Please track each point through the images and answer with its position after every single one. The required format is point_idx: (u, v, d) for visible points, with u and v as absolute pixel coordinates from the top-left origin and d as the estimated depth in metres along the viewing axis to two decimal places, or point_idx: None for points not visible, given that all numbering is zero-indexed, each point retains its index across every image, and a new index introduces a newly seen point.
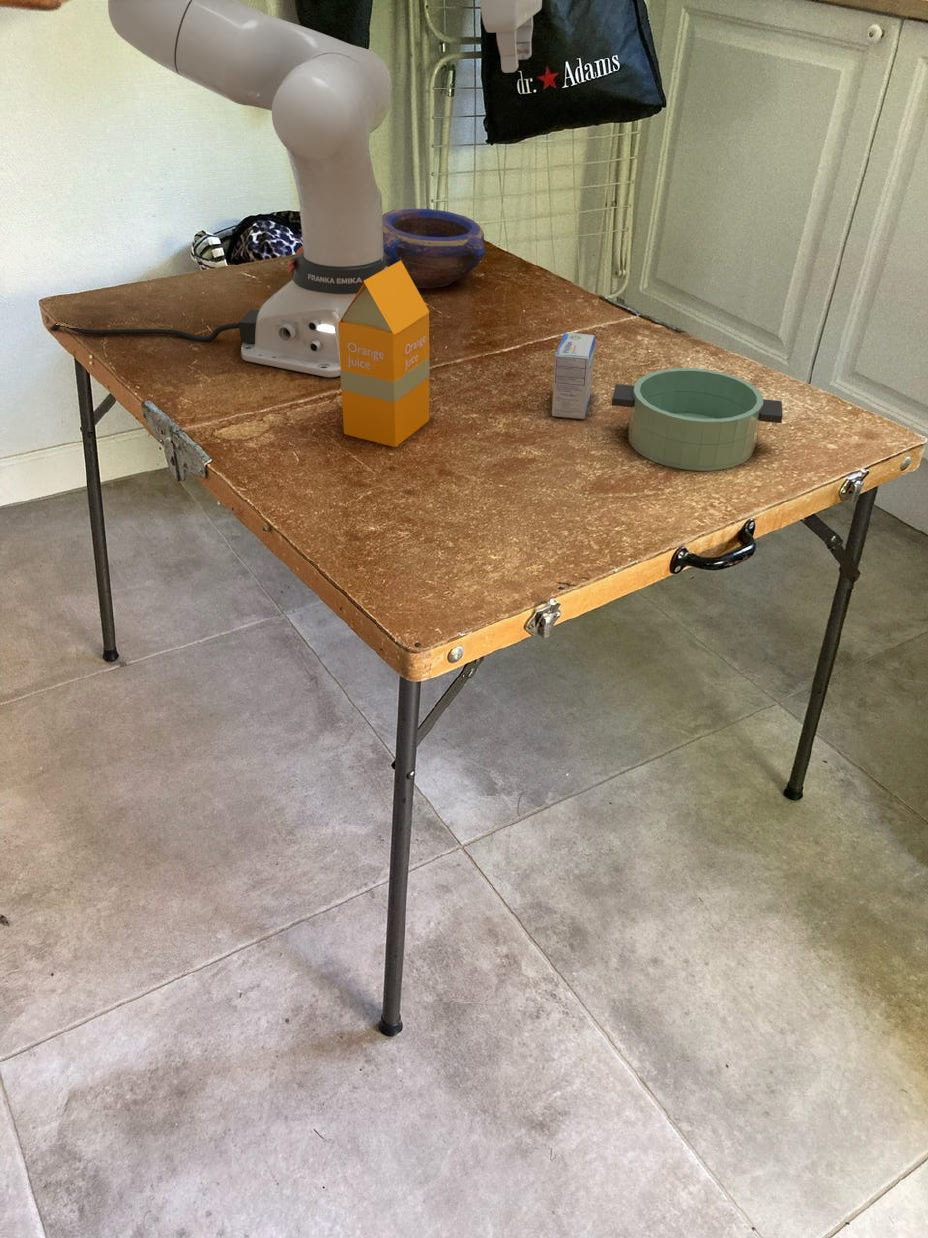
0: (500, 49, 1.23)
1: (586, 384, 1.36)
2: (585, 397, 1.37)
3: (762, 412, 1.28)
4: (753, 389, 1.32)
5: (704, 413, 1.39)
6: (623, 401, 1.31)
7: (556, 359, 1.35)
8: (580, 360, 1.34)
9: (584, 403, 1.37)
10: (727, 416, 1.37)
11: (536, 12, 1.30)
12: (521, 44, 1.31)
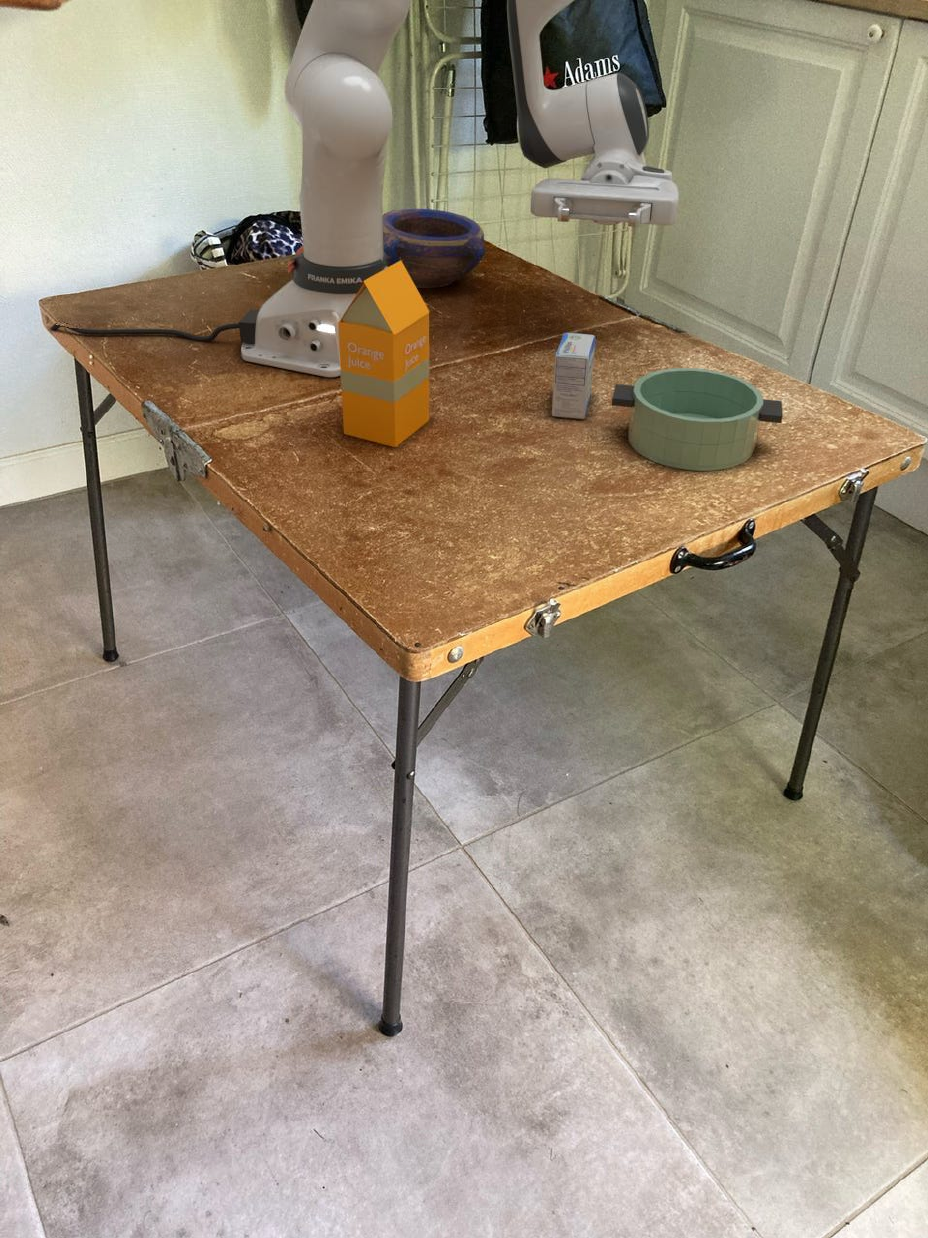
0: (645, 209, 1.42)
1: (586, 384, 1.36)
2: (585, 397, 1.37)
3: (762, 412, 1.28)
4: (753, 389, 1.32)
5: (704, 413, 1.39)
6: (623, 401, 1.31)
7: (556, 359, 1.35)
8: (580, 360, 1.34)
9: (584, 403, 1.37)
10: (727, 416, 1.37)
11: None
12: (569, 211, 1.44)
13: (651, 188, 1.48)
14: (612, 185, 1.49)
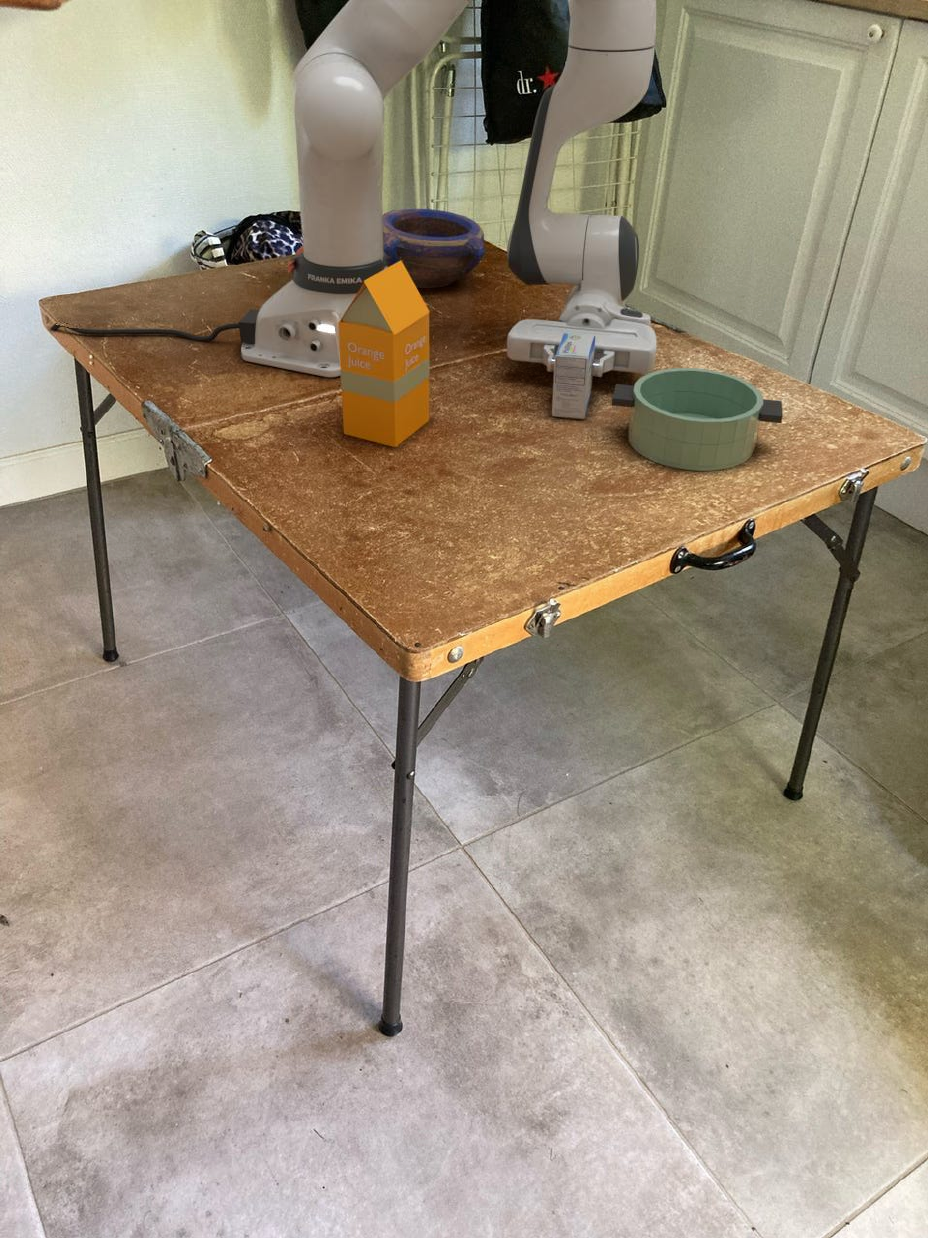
0: (608, 359, 1.40)
1: (586, 384, 1.36)
2: (585, 397, 1.37)
3: (762, 412, 1.28)
4: (753, 389, 1.32)
5: (704, 413, 1.39)
6: (623, 401, 1.31)
7: (556, 359, 1.35)
8: (580, 360, 1.34)
9: (584, 403, 1.37)
10: (727, 416, 1.37)
11: (539, 362, 1.45)
12: None
13: (629, 333, 1.46)
14: (589, 329, 1.46)
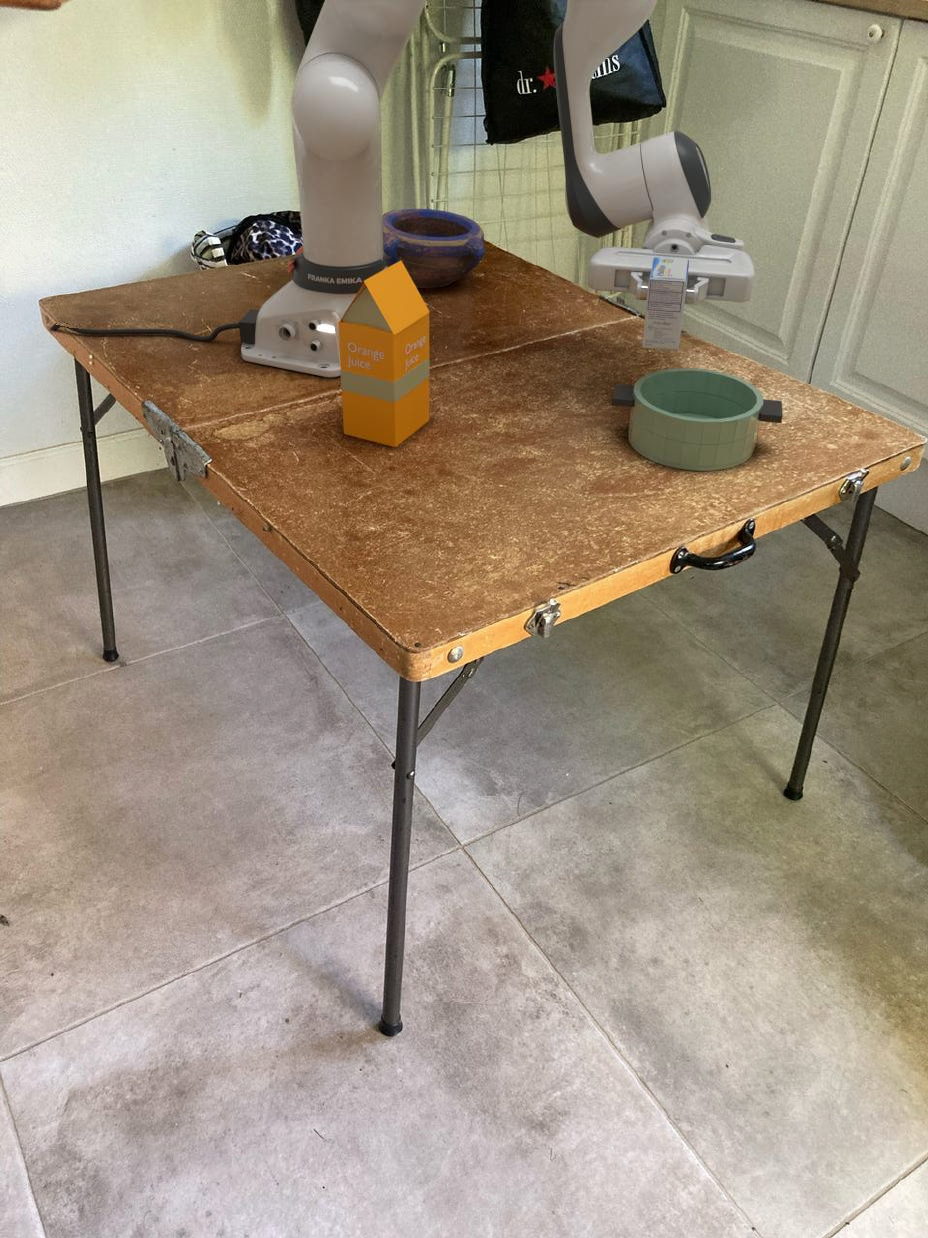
0: (703, 285, 1.28)
1: (682, 311, 1.24)
2: (680, 325, 1.25)
3: (762, 412, 1.28)
4: (753, 389, 1.32)
5: (704, 413, 1.39)
6: (623, 401, 1.31)
7: (650, 283, 1.22)
8: (677, 283, 1.22)
9: (679, 332, 1.25)
10: (727, 416, 1.37)
11: (624, 292, 1.33)
12: None
13: (722, 260, 1.33)
14: (678, 256, 1.34)
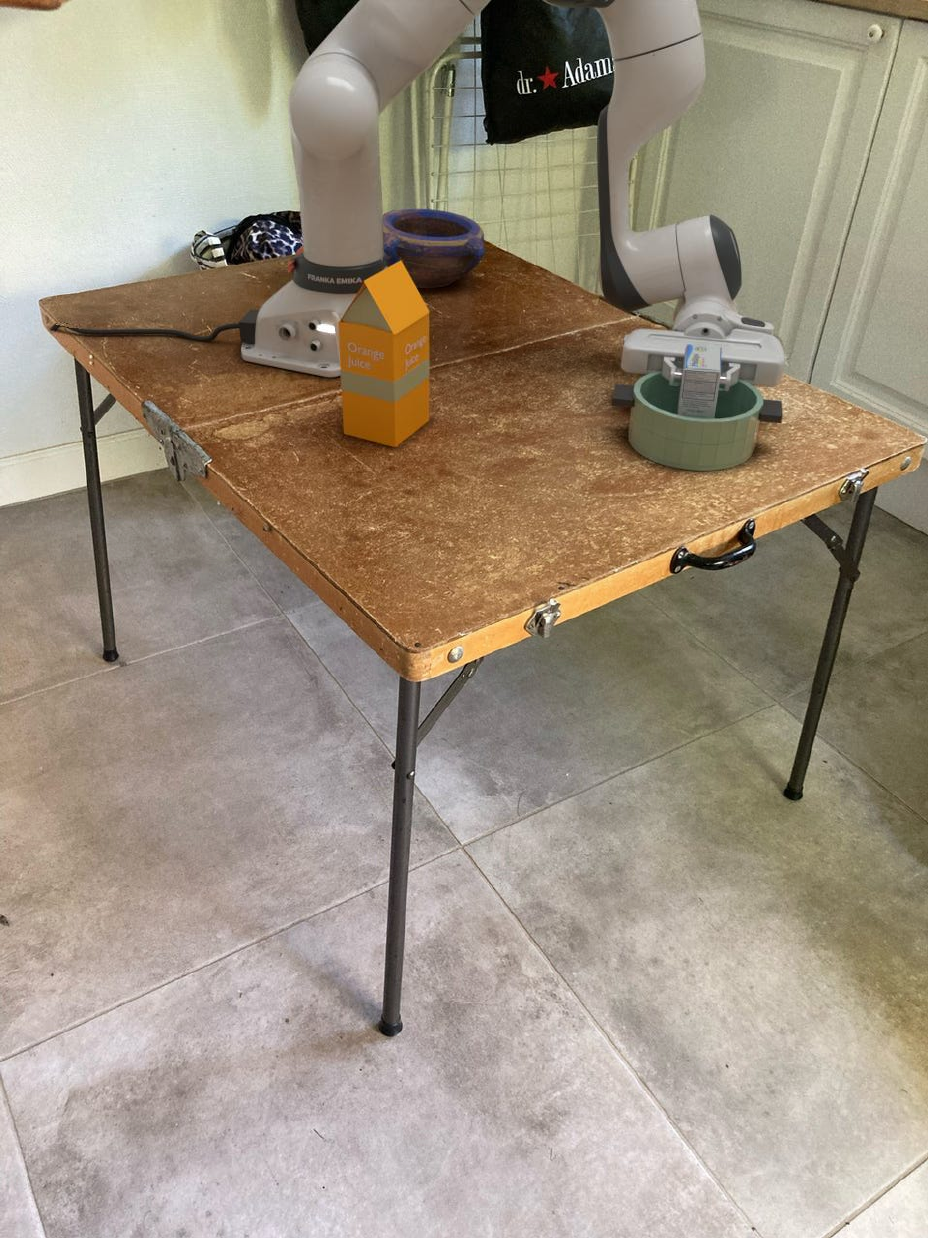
0: (735, 372, 1.31)
1: (715, 399, 1.27)
2: (713, 413, 1.28)
3: (762, 412, 1.28)
4: (753, 389, 1.32)
5: None
6: (623, 401, 1.31)
7: (685, 373, 1.25)
8: (711, 374, 1.25)
9: None
10: (727, 416, 1.37)
11: None
12: None
13: (752, 344, 1.36)
14: (709, 339, 1.37)
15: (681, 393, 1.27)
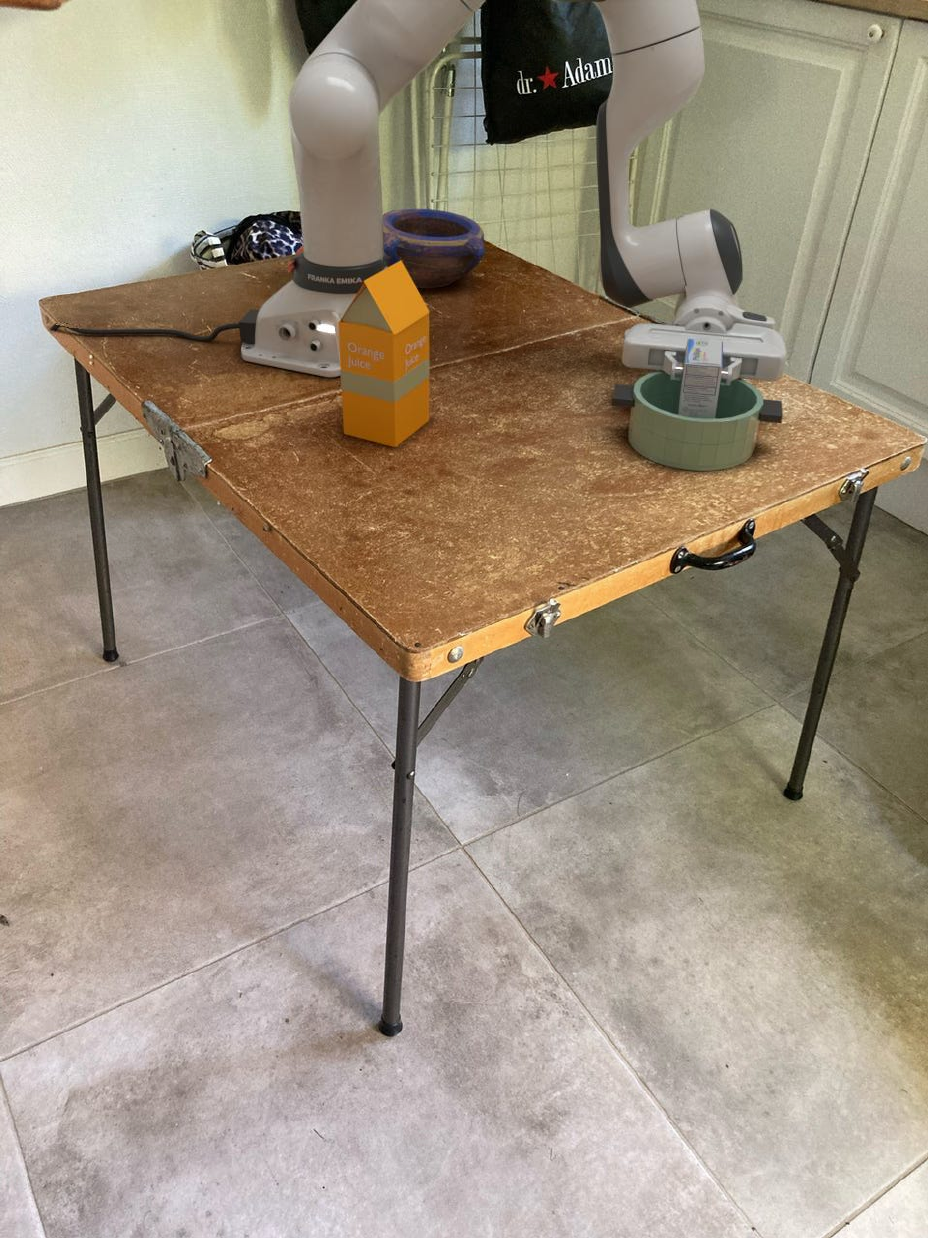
0: (736, 366, 1.31)
1: (717, 394, 1.26)
2: (715, 408, 1.27)
3: (762, 412, 1.28)
4: (753, 389, 1.32)
5: None
6: (623, 401, 1.31)
7: (686, 367, 1.25)
8: (712, 368, 1.24)
9: (713, 414, 1.28)
10: (727, 416, 1.37)
11: None
12: None
13: (753, 338, 1.36)
14: (710, 334, 1.37)
15: (682, 387, 1.27)
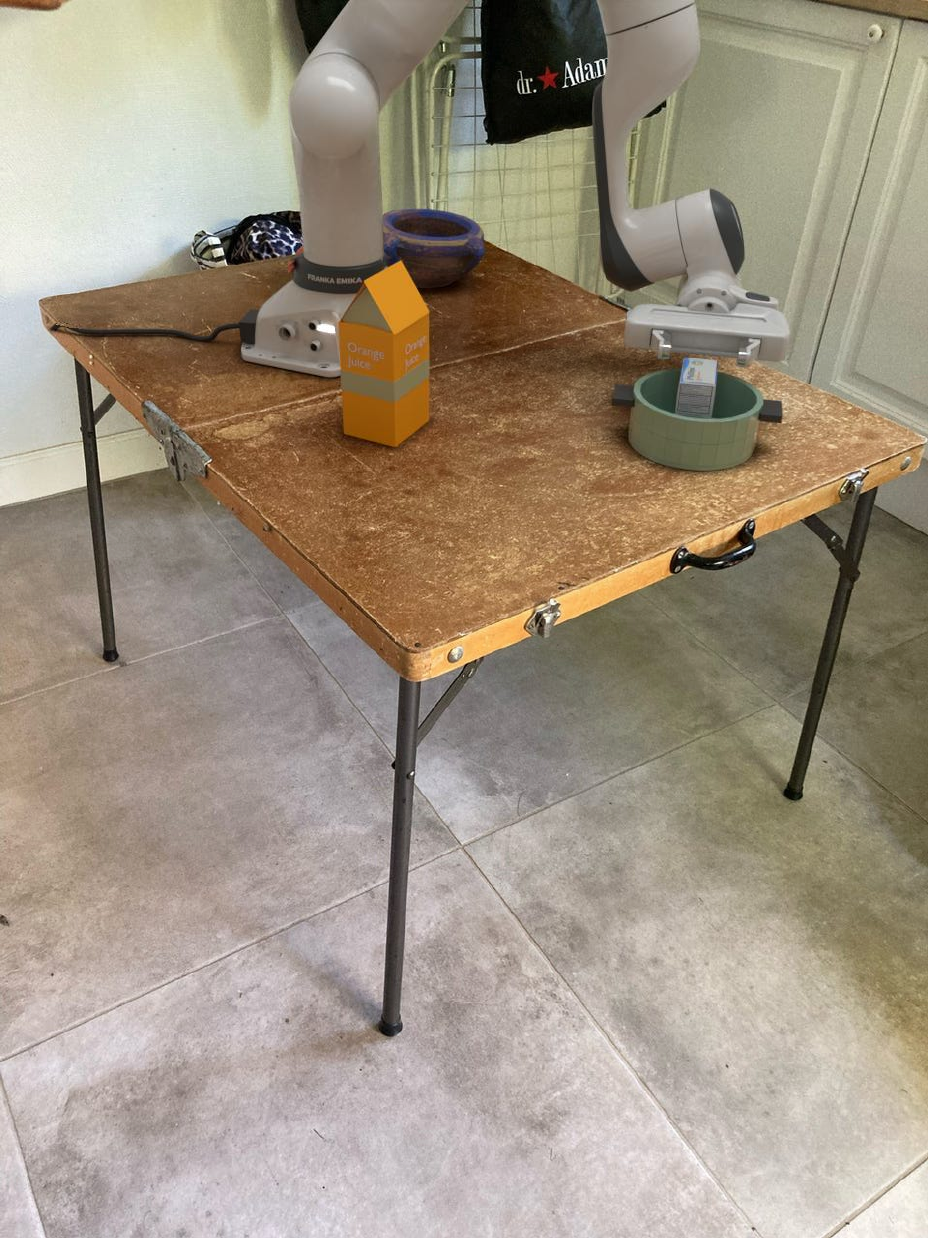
0: (755, 347, 1.29)
1: (710, 413, 1.28)
2: None
3: (762, 412, 1.28)
4: (753, 389, 1.32)
5: None
6: (623, 401, 1.31)
7: (680, 386, 1.27)
8: (706, 387, 1.26)
9: None
10: (727, 416, 1.37)
11: None
12: None
13: (757, 318, 1.34)
14: (713, 314, 1.35)
15: (676, 406, 1.29)
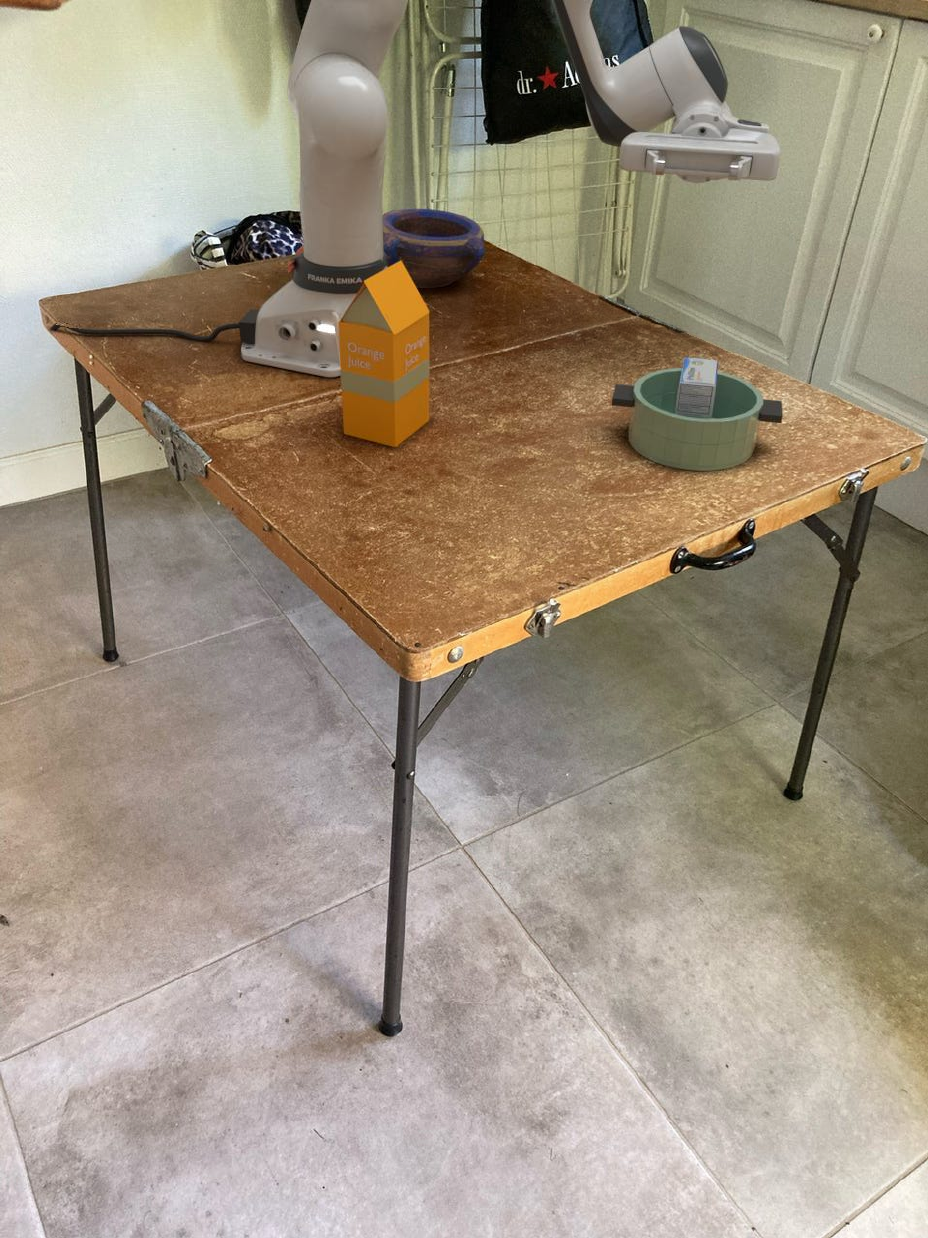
0: (747, 162, 1.33)
1: (710, 413, 1.28)
2: None
3: (762, 412, 1.28)
4: (753, 389, 1.32)
5: None
6: (623, 401, 1.31)
7: (680, 386, 1.27)
8: (706, 387, 1.26)
9: None
10: (727, 416, 1.37)
11: None
12: None
13: (748, 142, 1.38)
14: (706, 138, 1.39)
15: (676, 406, 1.29)
